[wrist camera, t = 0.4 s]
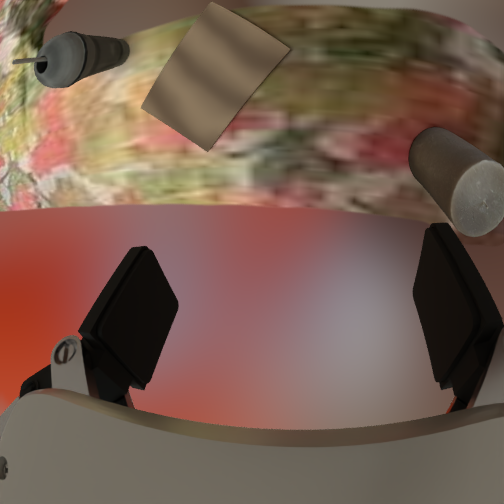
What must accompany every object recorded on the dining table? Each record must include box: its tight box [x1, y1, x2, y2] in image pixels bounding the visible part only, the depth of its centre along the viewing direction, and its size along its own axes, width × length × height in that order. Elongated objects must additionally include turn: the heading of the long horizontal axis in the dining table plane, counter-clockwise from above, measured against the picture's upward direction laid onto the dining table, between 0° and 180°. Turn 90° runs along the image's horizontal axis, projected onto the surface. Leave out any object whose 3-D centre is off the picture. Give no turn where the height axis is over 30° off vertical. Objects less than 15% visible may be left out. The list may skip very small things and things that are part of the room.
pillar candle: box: [409, 127, 504, 237], centre depth 27 cm, size 10×10×15 cm
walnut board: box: [141, 1, 291, 152], centre depth 31 cm, size 18×12×2 cm, turn 144°
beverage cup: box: [12, 31, 129, 88], centre depth 22 cm, size 7×7×20 cm
